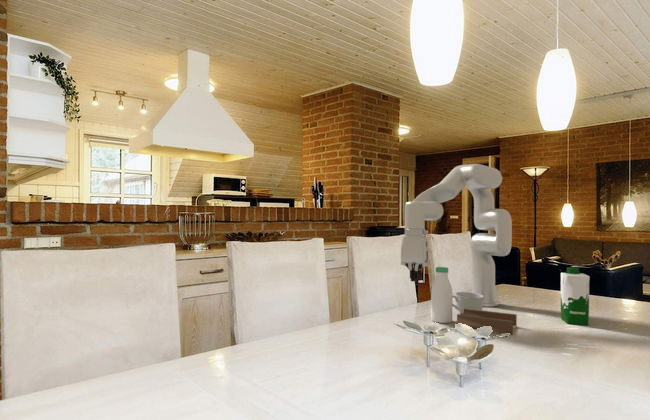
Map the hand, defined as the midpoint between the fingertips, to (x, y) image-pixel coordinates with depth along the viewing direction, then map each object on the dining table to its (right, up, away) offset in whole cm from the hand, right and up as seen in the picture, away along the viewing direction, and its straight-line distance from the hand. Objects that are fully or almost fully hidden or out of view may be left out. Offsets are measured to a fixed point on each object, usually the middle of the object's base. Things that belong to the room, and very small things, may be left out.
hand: (414, 280), depth 164 cm
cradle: (+23, -14, -13) cm, 30 cm away
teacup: (+22, -15, +7) cm, 27 cm away
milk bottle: (+9, -14, -5) cm, 18 cm away
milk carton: (+59, -15, -5) cm, 61 cm away
